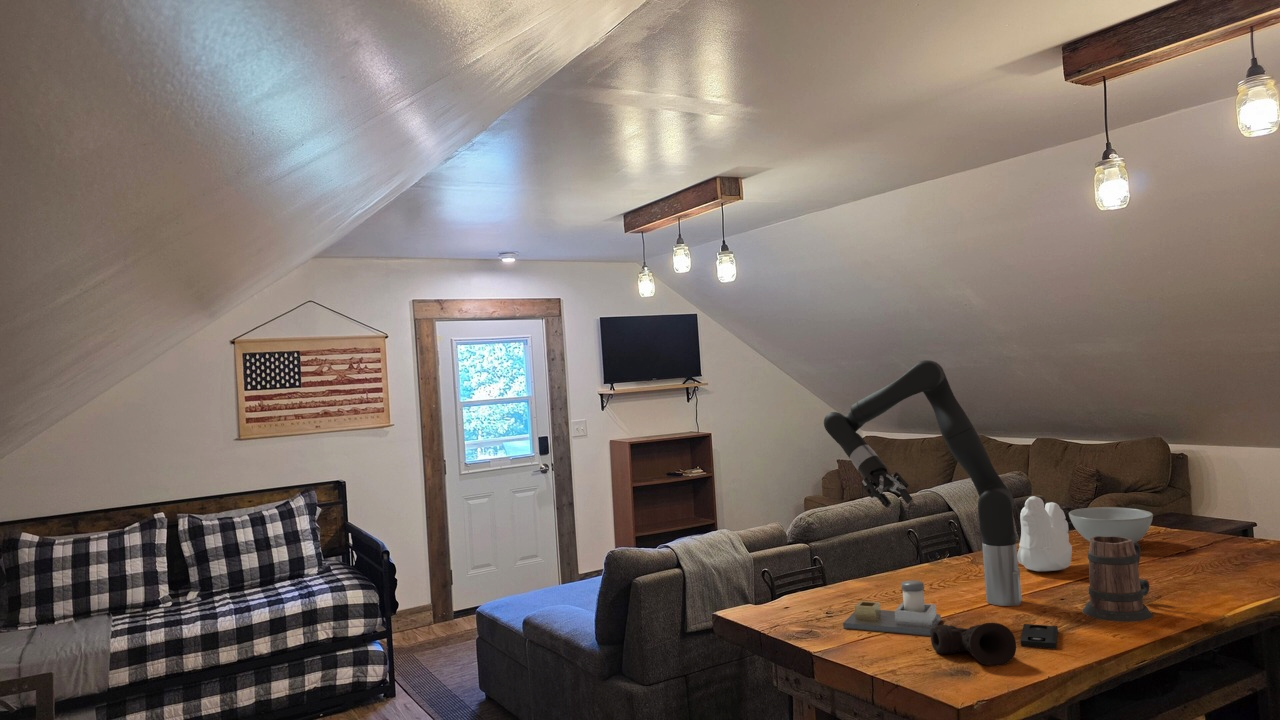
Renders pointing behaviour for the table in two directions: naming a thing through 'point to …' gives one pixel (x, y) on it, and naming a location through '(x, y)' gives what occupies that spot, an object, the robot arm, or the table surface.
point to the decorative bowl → (1111, 522)
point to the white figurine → (1044, 537)
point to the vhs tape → (1039, 636)
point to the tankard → (1116, 581)
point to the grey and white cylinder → (913, 596)
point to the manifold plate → (892, 619)
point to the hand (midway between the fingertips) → (899, 503)
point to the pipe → (976, 642)
